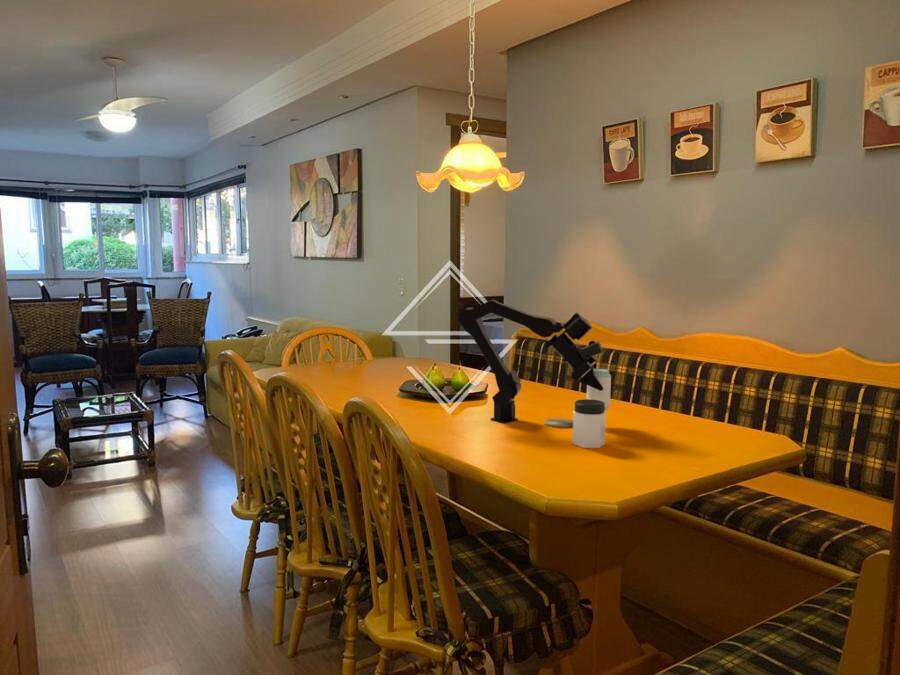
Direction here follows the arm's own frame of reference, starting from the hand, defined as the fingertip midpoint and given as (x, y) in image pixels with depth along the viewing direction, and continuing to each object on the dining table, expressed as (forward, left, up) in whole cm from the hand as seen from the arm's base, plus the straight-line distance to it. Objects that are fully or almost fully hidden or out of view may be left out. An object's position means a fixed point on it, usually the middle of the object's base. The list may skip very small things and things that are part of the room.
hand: (603, 387), depth 207 cm
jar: (-19, -10, -12) cm, 25 cm away
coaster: (-7, +11, -12) cm, 18 cm away
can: (-1, +1, -7) cm, 7 cm away
